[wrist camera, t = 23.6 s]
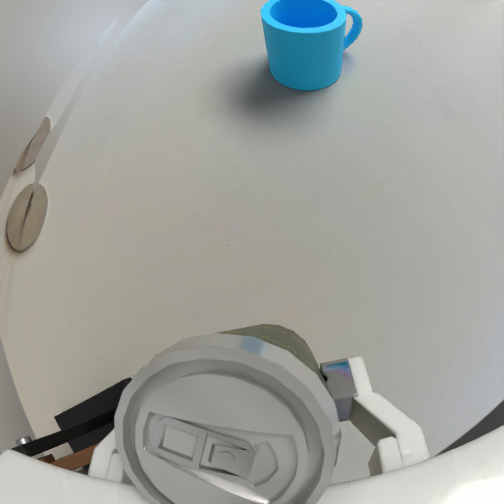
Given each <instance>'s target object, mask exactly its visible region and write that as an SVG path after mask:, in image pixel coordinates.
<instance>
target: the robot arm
mask: <svg viewBox="0 0 504 504" xmlns="http://www.w3.org/2000/svg"><path fill="white" fill-rule="evenodd" d="M320 371H321V373H322V376H323V378H324V380H325V382H326V384H327V386H328V389H329V391H330V393H331V395H332V398H333V400H334V402H335V405H336V410H337V415H338V420H339V422H341V421H346V420H350V421H351V422H352V423H353V424H354V425H355V426H356V427H357V428H358V430H359V431H360V432H361V433H362V434H363V435H364V436H365V437H366V438H367V439H368V440H369V441H370V442H371V443H372V444H373V445H374V446H375V447H376V448H375V450H374V452H373V454H372V457H371V459H370V461H369V463H368V465H369V471H370V476H371V477H366V478H362V479H358V480H353V481H348V482H343V483H338V484H332V485H329V486H328V487H327V489H326V490H325V492H324V493H323V495H322V496H321V498H320V499H319V501H318V502H317V503H316V504H504V425H503V426H501V427H499V428H497V429H495V430H494V431H492V432H490V433H488V434H486V435H484V436H482V437H480V438H478V439H475V440H473V441H471V442H469V443H467V444H465V445H462V446H460V447H458V448H455V449H453V450H451V451H448V452H446V453H443V454H441V455H438V456H435V457H433V458H430V456H429V453H428V449H427V446H426V443H425V439H424V436H423V433H422V429H421V427H420V426H419V425H418V424H416V423H415V422H414V421H413V420H411V419H410V418H409V417H408V416H406V415H405V414H404V413H402V412H401V411H400V410H399V409H397V408H396V407H395V406H394V405H392V404H391V403H390V402H389V401H387V400H386V399H385V398H384V397H382V396H381V395H380V394H379V393H377V392H374V393H373V392H372V388H371V385H370V381H369V378H368V375H367V371H366V368H365V364H364V361H363V358H362V357H361V356H356V357H351V358H345V359H340V360H335V361H330V362H325V363H320ZM0 504H151V503H150V502H149V501H148V500H147V499H145V498H144V497H143V496H142V494H141V493H140V492H139V491H138V489H137V488H136V486H135V485H134V484H133V482H132V481H131V480H130V478H129V477H128V475H127V474H126V472H125V470H124V468H123V465H122V462H121V460H120V457H119V454H118V451H117V448H116V445H115V428H114V429H113V430H112V431H111V432H110V433H109V434H108V435H107V436H106V437H105V438H104V439H103V440H102V441H101V442H100V443H99V444H98V445H97V446H96V447H95V448H94V451H93V455H92V459H91V463H90V467H89V471H88V475H85V474H81V473H77V472H74V471H70V470H67V469H64V468H61V467H58V466H54V465H51V464H49V463H46V462H43V461H40V460H37V459H35V458H32V457H29V456H27V455H24V454H22V453H19V452H17V451H14V450H11V449H8V450H5V451H4V452H3V453H1V454H0Z"/></svg>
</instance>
